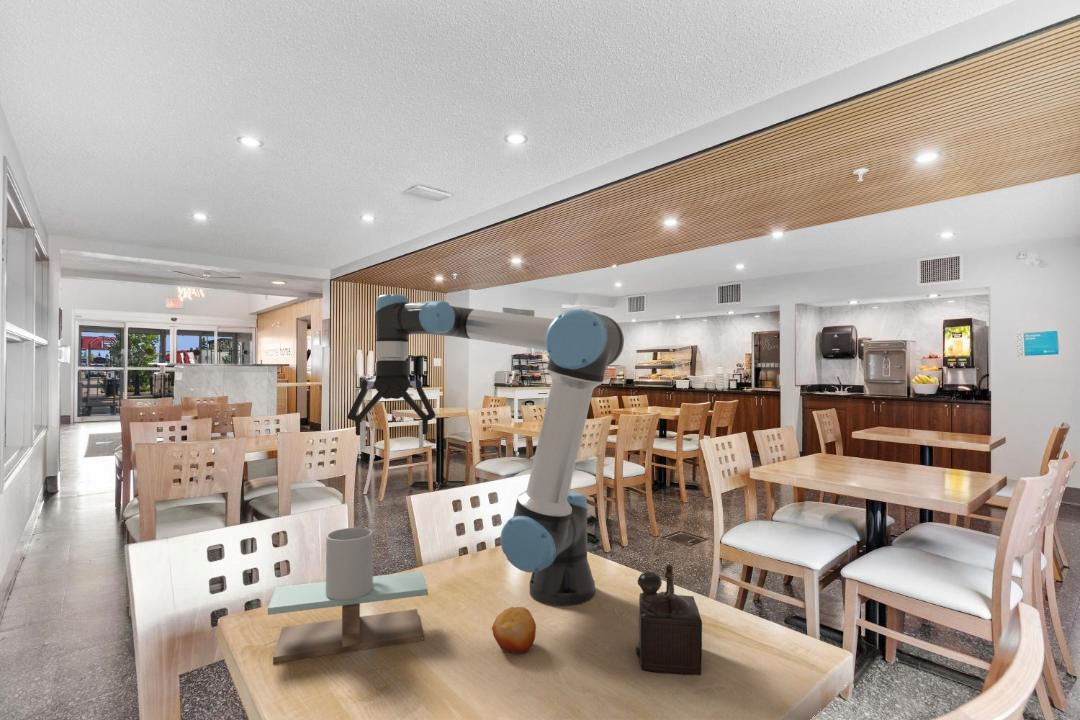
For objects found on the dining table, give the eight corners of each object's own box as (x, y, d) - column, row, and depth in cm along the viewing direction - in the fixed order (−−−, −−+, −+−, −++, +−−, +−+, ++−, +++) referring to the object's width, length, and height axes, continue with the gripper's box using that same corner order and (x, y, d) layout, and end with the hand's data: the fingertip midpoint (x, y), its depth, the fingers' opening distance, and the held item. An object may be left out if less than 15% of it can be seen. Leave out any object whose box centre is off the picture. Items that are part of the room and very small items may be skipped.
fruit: (545, 629, 107) (538, 602, 103) (533, 668, 100) (525, 641, 96) (506, 623, 109) (498, 596, 105) (492, 661, 103) (483, 634, 99)
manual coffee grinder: (634, 641, 105) (634, 546, 105) (694, 645, 103) (694, 548, 103) (637, 688, 89) (637, 576, 90) (708, 693, 88) (707, 579, 88)
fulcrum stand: (416, 613, 117) (416, 575, 117) (422, 640, 105) (422, 598, 105) (282, 632, 109) (282, 591, 109) (272, 663, 97) (273, 617, 97)
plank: (422, 576, 116) (422, 570, 116) (427, 595, 107) (427, 588, 107) (276, 593, 108) (276, 587, 108) (267, 614, 98) (267, 608, 98)
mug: (357, 602, 100) (357, 542, 101) (316, 598, 102) (316, 538, 102) (389, 578, 112) (389, 523, 112) (351, 574, 114) (351, 521, 114)
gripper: (445, 360, 137) (445, 445, 137) (342, 360, 134) (341, 447, 134) (444, 359, 130) (444, 449, 130) (334, 359, 127) (334, 452, 127)
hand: (392, 448), depth 132 cm, fingers open, 13 cm apart
